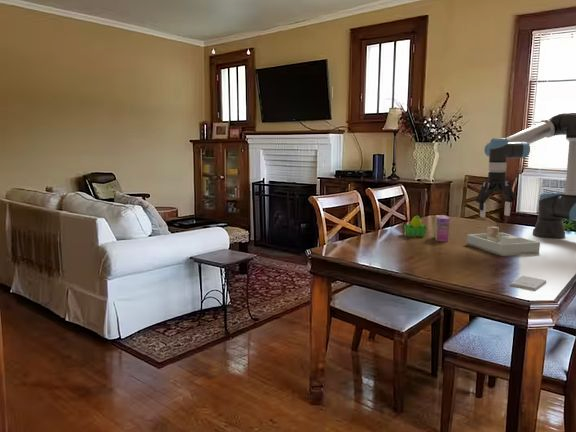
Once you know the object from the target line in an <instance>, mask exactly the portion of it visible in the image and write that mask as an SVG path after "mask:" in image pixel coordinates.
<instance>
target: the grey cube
mask: <svg viewBox="0 0 576 432" xmlns="http://www.w3.org/2000/svg"><path fill="white" fill-rule="evenodd" d="M514 236H515V235H513V236H501V240H500V244H514V243H519V240H520V238H518V237H519V236H517V237H514Z"/></svg>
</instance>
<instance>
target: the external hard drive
mask: <svg viewBox="0 0 576 432" xmlns="http://www.w3.org/2000/svg"><path fill="white" fill-rule="evenodd" d="M546 283H547V280H546V279H542V278H537V277H531V276H526V275H521V276H519V277H517V278H516V279H515V280H512V281H511V282H510V283H509V286H510V287H513V288H514V287H515V288H521V289H524V290H530V291H534V292H535V291H537V290H538V289H540V288H541V287H543V286H544V285H545V284H546Z"/></svg>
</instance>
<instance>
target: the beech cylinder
mask: <svg viewBox="0 0 576 432" xmlns="http://www.w3.org/2000/svg"><path fill="white" fill-rule="evenodd" d="M499 231H500V228H499V227H498V226H487V230H486V233H487V240H490V241H493V242H497V243H498V234H499V233H500V232H499Z"/></svg>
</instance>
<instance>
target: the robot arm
mask: <svg viewBox="0 0 576 432" xmlns="http://www.w3.org/2000/svg"><path fill="white" fill-rule="evenodd" d="M564 135H565V139H566V140H567V141H568V153H567V154H568V155H567V163H566V164H567V165H566V177H565V178H566V179H565V189H564V190H563V191H562V192H546V193H545V192H543V193H541V194H540V195H539V199H538V211H537V220H536V223H535V226H534V228H533V229H532V235H533V236H536V237H541V238H550V239H561V238H562V239H564V238H566V231H565V227H564V222H563V220H569V221H570V220H571V221H573V222H574V221H575V222H576V110H569V111H568V110H566V111H561V112H559V113H556V114H554V115H551V116H549V117H547V118H544V119H542V120H540V122H539V123H538V124H535V125H533V126H531V127H528V128H525V129H524V130H521V131H519V132H517V133H514V134H512V135H510V136H509V135H508V136H507V137H503V138H502V137H500V138H499V137H497V138H491V139H490V141H489V142H488V143H486V145H485V146H484V154H485V155H486V156H487V157H488V173H487V175H488V176H487V179H488V182H486V181H483V182H482V186H481V188H480V190H479V192H478V194H477V197H476V199H475V202H476V203H478V204H479V205H478V206H479V207H478V210H479V211H480V212H479V217H480V218H485V219H486V209H487V208H486V207H487V204H486V201H487V200H488V198H489V197H490V196H491V194H492V193H494V192H500V193H501V195H502V196H503V198H504V199H505V202H504V213H503V214H504V216H506V217H507V216H508V217H509V216H510V215H511V214H510V213H511V209H512V203H513V202H514V201H516V197H515V196H516V195H515V194H514V191H513V188H512V186H511V185H512V183H511V180H510V181H509V180H506V178H507V172H506V171H507V161H508V159H524V158H527V157H528V156H529V155H530V152H531V145H530V144H533V143H535V142H538V141H540V140H543V139H544V138H551V137H555V136H564Z"/></svg>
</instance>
